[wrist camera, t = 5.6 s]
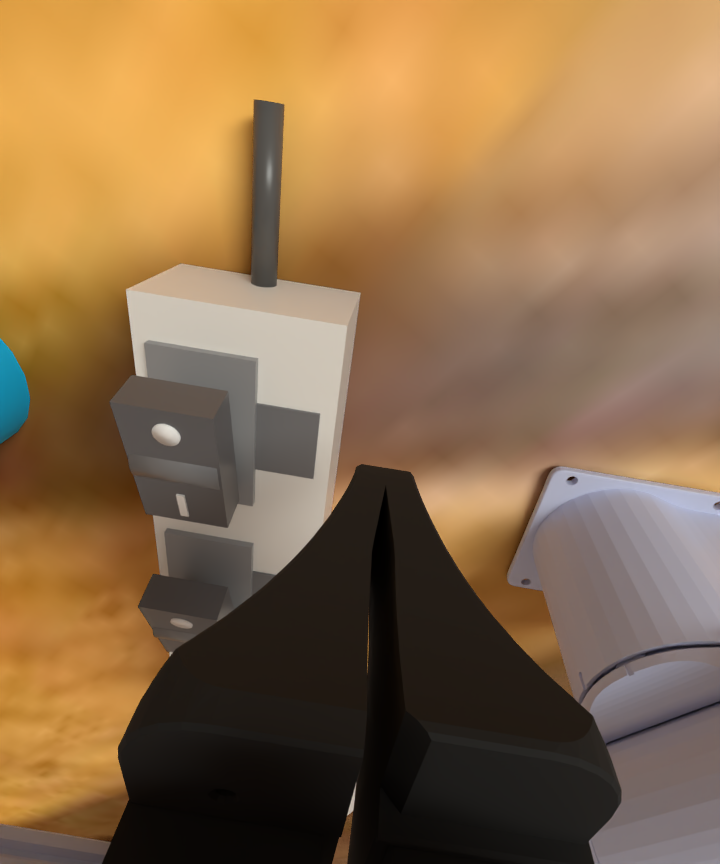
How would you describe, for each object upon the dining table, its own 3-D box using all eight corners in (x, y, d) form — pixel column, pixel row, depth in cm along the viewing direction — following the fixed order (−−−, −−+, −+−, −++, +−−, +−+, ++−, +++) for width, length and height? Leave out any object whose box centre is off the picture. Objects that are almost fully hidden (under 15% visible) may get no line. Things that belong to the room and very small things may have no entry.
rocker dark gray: (229, 582, 20) (215, 625, 19) (241, 629, 24) (230, 667, 23) (155, 569, 20) (135, 611, 19) (179, 618, 24) (165, 655, 23)
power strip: (383, 121, 17) (373, 110, 13) (308, 682, 34) (293, 753, 30) (166, 87, 17) (87, 66, 13) (202, 663, 34) (174, 731, 30)
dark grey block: (230, 387, 16) (210, 423, 14) (240, 495, 19) (225, 532, 18) (134, 371, 16) (105, 405, 14) (163, 482, 19) (143, 518, 18)
